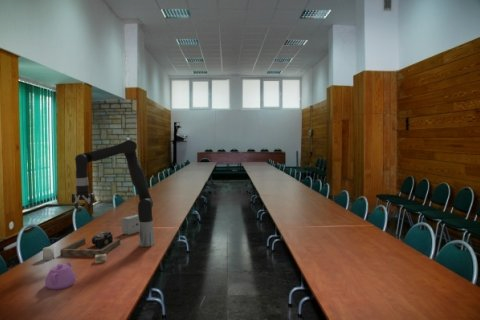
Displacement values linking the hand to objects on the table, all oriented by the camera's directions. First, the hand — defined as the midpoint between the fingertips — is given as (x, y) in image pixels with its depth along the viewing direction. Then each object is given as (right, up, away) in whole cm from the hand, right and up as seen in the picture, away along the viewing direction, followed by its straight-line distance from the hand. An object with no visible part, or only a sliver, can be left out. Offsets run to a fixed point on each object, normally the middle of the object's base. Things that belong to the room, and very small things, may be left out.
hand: (83, 209), depth 223 cm
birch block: (+18, -30, -16) cm, 38 cm away
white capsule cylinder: (-17, -30, -11) cm, 36 cm away
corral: (+3, -29, +7) cm, 29 cm away
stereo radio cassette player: (+18, -26, +52) cm, 61 cm away
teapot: (+11, -32, -48) cm, 59 cm away
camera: (+5, -28, +16) cm, 33 cm away
